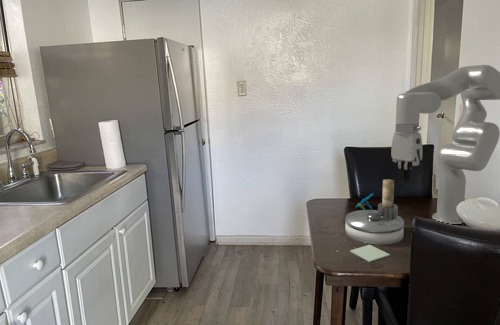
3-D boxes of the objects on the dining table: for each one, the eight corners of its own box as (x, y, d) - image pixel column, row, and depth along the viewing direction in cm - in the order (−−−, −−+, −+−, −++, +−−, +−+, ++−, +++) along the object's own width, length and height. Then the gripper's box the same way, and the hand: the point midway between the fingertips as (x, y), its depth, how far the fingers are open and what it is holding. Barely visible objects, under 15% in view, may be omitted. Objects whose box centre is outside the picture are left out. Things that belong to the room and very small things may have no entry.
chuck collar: (374, 237, 119) (374, 222, 118) (334, 219, 138) (334, 206, 137) (416, 225, 128) (417, 211, 127) (373, 210, 147) (373, 197, 146)
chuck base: (373, 219, 148) (373, 210, 147) (416, 236, 129) (416, 226, 128) (334, 229, 139) (334, 220, 138) (373, 249, 120) (374, 238, 119)
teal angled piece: (362, 200, 169) (375, 189, 162) (370, 209, 167) (384, 199, 160) (349, 208, 162) (362, 197, 155) (358, 219, 160) (372, 208, 153)
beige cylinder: (387, 213, 138) (388, 178, 136) (395, 215, 135) (396, 180, 132) (379, 214, 137) (380, 180, 134) (387, 217, 133) (388, 182, 130)
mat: (369, 245, 123) (369, 244, 123) (389, 255, 115) (389, 254, 115) (349, 251, 119) (349, 250, 119) (369, 262, 111) (369, 261, 111)
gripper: (433, 129, 117) (429, 182, 121) (397, 126, 131) (395, 174, 134) (417, 131, 114) (414, 185, 118) (382, 128, 127) (380, 177, 131)
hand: (404, 179), depth 126 cm, fingers closed
